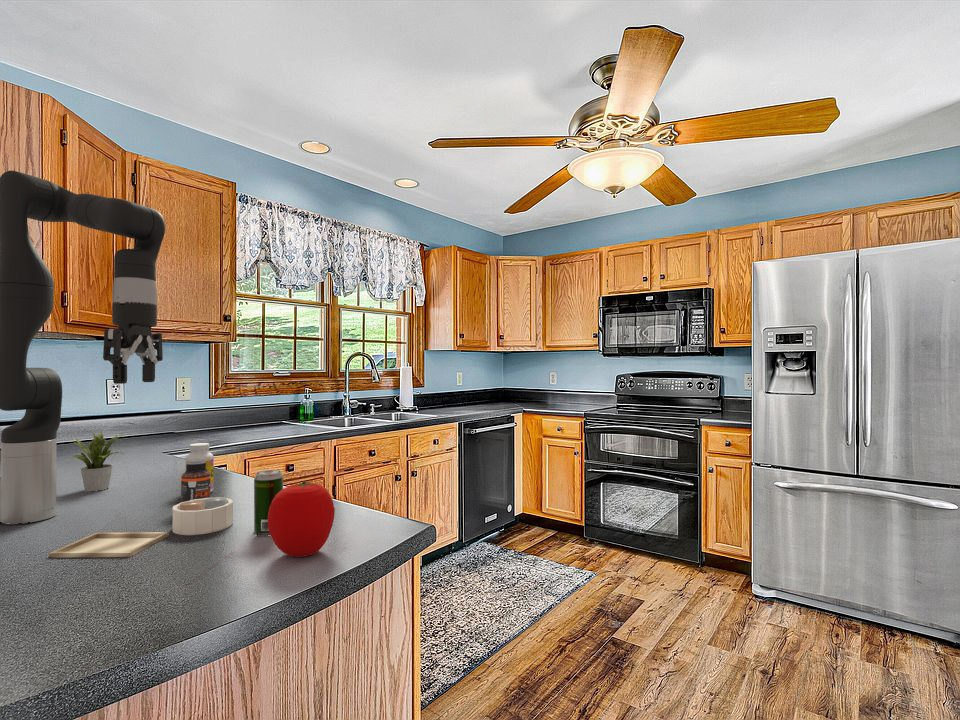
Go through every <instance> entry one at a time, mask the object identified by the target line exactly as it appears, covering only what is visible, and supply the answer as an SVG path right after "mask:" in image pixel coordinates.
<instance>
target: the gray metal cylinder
mask: <svg viewBox="0 0 960 720" xmlns="http://www.w3.org/2000/svg"><path fill="white" fill-rule="evenodd" d="M226 498H227V497H226V496H225V497H223V496H215V497H210V498H209V499H206V500H205V509H212V508H216V507H220V506H223V505H225V504H226Z"/></svg>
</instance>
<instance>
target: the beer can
mask: <svg viewBox="0 0 960 720" xmlns="http://www.w3.org/2000/svg"><path fill="white" fill-rule="evenodd" d="M282 472H283V471H282V470H280V469H279V470H278V469H267V470H261V471H257V472H255V476H254V479H253V501H254V502H253V531H254V534H255V535H256V536H258V535H259V536H258V537H269V536H268V535H270V533H269V528H268V513H269V508H270V505H271V503H272V500H273V499H274V497H275V496H276V495H277V494H278V493H279V492H280V491H281V490H282V489H284V475H283V473H282Z"/></svg>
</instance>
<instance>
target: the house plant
mask: <svg viewBox="0 0 960 720" xmlns="http://www.w3.org/2000/svg"><path fill="white" fill-rule="evenodd" d="M91 433H92V435H93V439H92V440H91V441H89V443H88V448H87V446H86V445H85V444H84V443H83V442H82V441H80V440H79V439H77V438H74V437H72V439H73V440H74V441H73V443H75V445H77V446H78V447H79V448H80V449H82V450H81V451H80V454H79V455H78V454H76V455H75V454H74V455H73V456H72V458H75V459H77V460H80V461H82V462H83V463H84V464H85V465H86V466H83V467H80V472H81V476H82V477H81V478H82V483H83V487H84V491H85V490H86V491H95V492H97V491H96V490H102V491H104V490H103V489H106V490H108V489H109V488H110V482H111V477H112V472H113V464H112V463H111V464H109V463H105V461H106V459H107V458H109V456H111V455H113V454H122V455H125V453H123V452H124V451H125V449H122V450H121V451H115V452H112V451H113V450H114V449H115V447H113V448H112V445H113V444H116V443H118V442H121V441H123V439H120V438H121V437H123V436H124V434H123V433H120V434H118V435H115V436H113V437H112V438H111V439H110V440H109V441H108V442H107V443H105V442H106V439H107V437H106V438H104V435H103V432H102V430H101V429H100V431H99V434H98V435H95V433H94V431H91ZM127 435H128V436H129V435H130V433H129V434H128V433H127V434H126V436H127ZM117 439H120V440H117ZM114 456H115V455H114ZM114 456H112V458H114ZM125 456H126V455H125ZM107 488H108V489H107ZM86 491H85V492H86Z"/></svg>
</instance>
